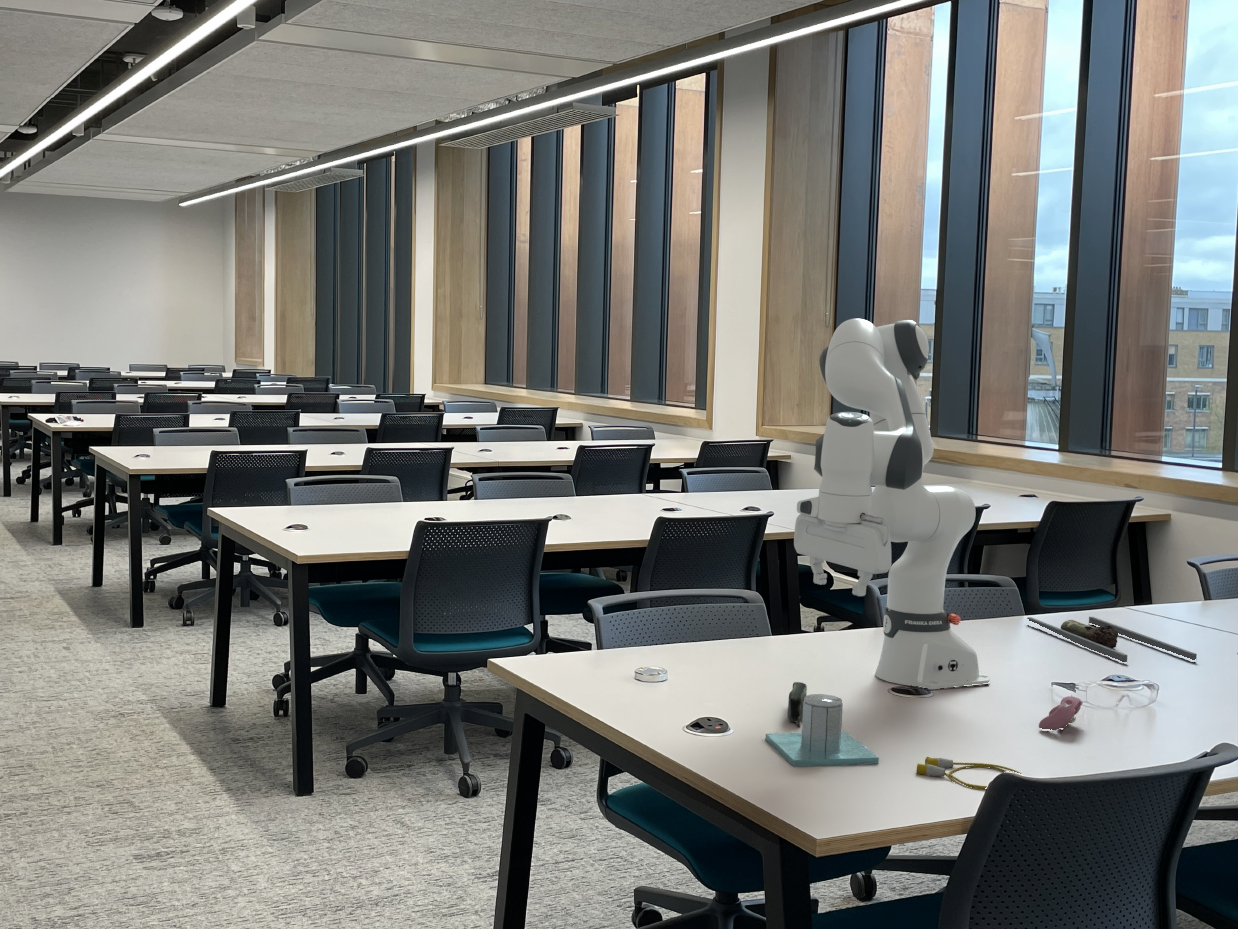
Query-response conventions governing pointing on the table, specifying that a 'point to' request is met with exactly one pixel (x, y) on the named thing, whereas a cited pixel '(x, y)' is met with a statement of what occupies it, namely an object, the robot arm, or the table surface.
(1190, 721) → the table surface
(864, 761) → the flat teal square plate
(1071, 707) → the mauve lumpy piece
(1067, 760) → the table surface
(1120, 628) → the pipe rail right
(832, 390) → the robot arm
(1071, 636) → the pipe rail left
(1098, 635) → the olive brown elongated piece
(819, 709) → the tabbed metal cylinder
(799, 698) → the mobile phone
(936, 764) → the yellow thin looped cord
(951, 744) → the table surface
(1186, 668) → the table surface
